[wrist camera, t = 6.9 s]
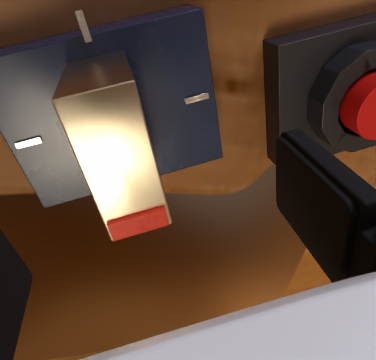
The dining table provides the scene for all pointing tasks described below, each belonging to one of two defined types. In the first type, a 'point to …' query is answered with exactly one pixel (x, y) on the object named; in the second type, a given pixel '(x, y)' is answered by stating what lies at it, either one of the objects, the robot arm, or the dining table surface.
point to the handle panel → (146, 85)
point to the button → (360, 106)
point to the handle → (112, 143)
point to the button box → (317, 81)
